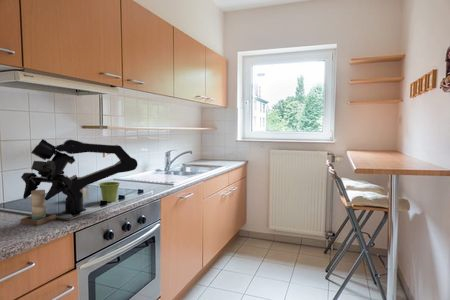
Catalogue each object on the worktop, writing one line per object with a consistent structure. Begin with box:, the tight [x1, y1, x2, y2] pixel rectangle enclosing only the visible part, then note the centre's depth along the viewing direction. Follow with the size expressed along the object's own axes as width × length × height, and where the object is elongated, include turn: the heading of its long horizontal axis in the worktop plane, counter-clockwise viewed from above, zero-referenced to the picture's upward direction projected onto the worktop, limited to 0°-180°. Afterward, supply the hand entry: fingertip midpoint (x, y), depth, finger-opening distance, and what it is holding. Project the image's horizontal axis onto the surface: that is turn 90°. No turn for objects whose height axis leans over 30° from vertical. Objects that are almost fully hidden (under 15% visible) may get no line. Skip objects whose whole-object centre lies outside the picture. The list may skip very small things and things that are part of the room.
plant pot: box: [98, 181, 120, 203], centre depth 142 cm, size 9×9×9 cm
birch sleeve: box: [30, 189, 47, 220], centre depth 110 cm, size 4×4×11 cm
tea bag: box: [81, 185, 90, 202], centre depth 144 cm, size 4×7×10 cm, turn 74°
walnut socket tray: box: [19, 213, 57, 227], centre depth 110 cm, size 8×8×2 cm
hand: (34, 199), depth 108 cm, fingers open, 9 cm apart
